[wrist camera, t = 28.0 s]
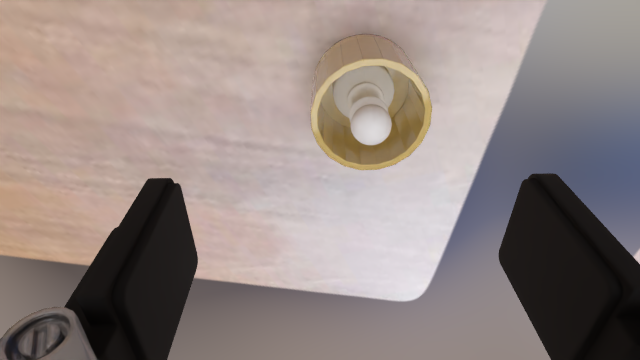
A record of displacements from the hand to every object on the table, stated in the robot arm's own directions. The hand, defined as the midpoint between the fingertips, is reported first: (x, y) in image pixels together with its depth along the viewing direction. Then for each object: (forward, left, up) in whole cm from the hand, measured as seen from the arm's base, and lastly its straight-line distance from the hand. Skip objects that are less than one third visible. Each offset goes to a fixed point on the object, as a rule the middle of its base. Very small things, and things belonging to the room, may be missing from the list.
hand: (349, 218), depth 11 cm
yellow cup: (+5, -3, -25) cm, 25 cm away
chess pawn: (+5, -3, -24) cm, 25 cm away
